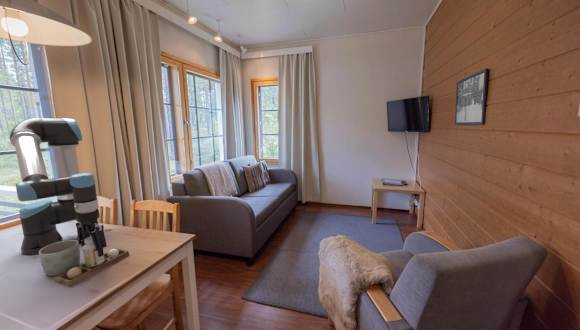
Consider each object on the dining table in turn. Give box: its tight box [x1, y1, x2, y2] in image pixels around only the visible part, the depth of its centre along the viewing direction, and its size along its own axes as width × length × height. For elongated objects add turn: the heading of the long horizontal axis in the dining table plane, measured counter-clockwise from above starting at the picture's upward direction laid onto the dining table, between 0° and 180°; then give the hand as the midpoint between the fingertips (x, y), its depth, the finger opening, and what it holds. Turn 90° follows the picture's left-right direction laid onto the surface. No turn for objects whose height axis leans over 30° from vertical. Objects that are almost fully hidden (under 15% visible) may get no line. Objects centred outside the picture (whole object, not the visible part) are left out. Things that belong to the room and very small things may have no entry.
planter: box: [38, 239, 81, 277], centre depth 104 cm, size 12×12×11 cm
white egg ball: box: [106, 248, 119, 259], centre depth 113 cm, size 4×4×4 cm
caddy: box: [54, 247, 130, 288], centre depth 106 cm, size 9×24×2 cm, turn 161°
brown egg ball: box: [67, 267, 82, 279], centre depth 99 cm, size 4×4×4 cm
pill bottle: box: [82, 236, 101, 267], centre depth 105 cm, size 6×6×12 cm
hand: (94, 261), depth 106 cm, fingers closed on pill bottle, 6 cm apart
